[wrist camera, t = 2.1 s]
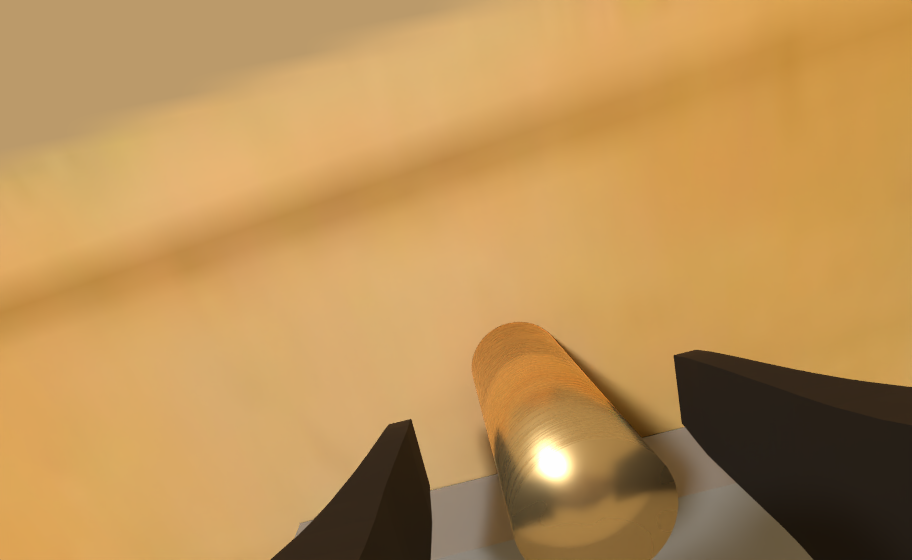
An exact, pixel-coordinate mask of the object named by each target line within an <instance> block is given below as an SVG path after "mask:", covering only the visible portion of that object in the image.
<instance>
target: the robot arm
mask: <svg viewBox="0 0 912 560" xmlns="http://www.w3.org/2000/svg"><path fill="white" fill-rule="evenodd" d="M674 362H675V371H676V379H677V387H678V395H679V403H680V411H681V420H682V424H683V425H684V426H685V428H686V429H687V430H688V431H689V433H690V434H691V435H692V437H693V438H694V439H695V440H696V442H697V443H698V444H699V445H700V446H701V448H702V449H703V450H704V451H705V452H706V454H707V455H708V456H709V457H710V458H711V459H712V460H713V461H714V462H715V463H716V464H717V465H718V466H719V467H720V468H721V469H723V470H724V471H725V472H726V473H727V474H728V475H729V476H730V477H731V478H732V479H733V480H734V481H735V482H736V483H737V484H738V485H739V486H740V487H741V488H742V489H743V490H744V491H745V492H747V493H748V494H749V495H750V496H751V497H752V498H753V499H754V500H755V501H756V502H757V503H758V504H759V505H760V506H761V507H762V508H763V509H764V510H765V511H766V512H768V513H769V514H770V515H771V516H772V517H773V518H774V519H775V520H776V521H777V522H778V523H779V524H780V525H781V526H782V527H783V528H784V529H785V530H786V531H787V532H788V533H789V534H790V535H791V536H792V537H793V538H794V539H795V540H796V541H797V542H798V543H799V544H800V545H801V546H802V547H803V548H804V550H805V551H806V552H807V553H808V554H809V555H810V556H811V558H812V559H813V560H912V387H905V386H897V385H889V384H881V383H873V382H865V381H858V380H851V379H845V378H839V377H833V376H827V375H822V374H816V373H811V372H805V371H800V370H795V369H790V368H786V367H781V366H776V365H771V364H767V363H762V362H758V361H753V360H748V359H744V358H739V357H735V356H730V355H725V354H720V353H715V352H709V351H701V350H694V351H689V352H685V353H681V354H677V355H674ZM431 544H432V510H431V496H430V485H429V481H428V478H427V474H426V470H425V467H424V463H423V460H422V456H421V452H420V449H419V445H418V442H417V438H416V434H415V431H414V427H413V424H412V420H411V419H410V420H406V421H401V422H397V423H393V424H389V425H388V426H387V428H386V429H385V430H384V432H383V433H382V435H381V436H380V437H379V439H378V440H377V442H376V443H375V445H374V446H373V447H372V449H371V450H370V452H369V453H368V454H367V456H366V457H365V458H364V460H363V461H362V463H361V464H360V465H359V467H358V468H357V469H356V471H355V472H354V473H353V474H352V476H351V477H350V478H349V479H348V481H347V482H346V483H345V484H344V486H343V487H342V488H341V489H340V490H339V492H338V493H337V494H336V495H335V497H334V498H333V499H332V500H331V501H330V502H329V504H328V505H327V506H326V507H325V508H324V509H323V510H322V511H321V512H320V513H319V514H318V516H317V517H316V518H315V519H314V520H313V521H312V522H311V523H310V524H309V525H308V526H307V527H306V528H305V529H304V530H303V531H302V532H301V533H300V534H299V535H298V536H297V537H296V538H294V539H293V540H292V541H291V542H290V543H289V544H288V545H287V546H285V547H284V548H283V549H282V550H281V551H280V552H279V553H278V554H276V555H275V556H274V557H273V558H272V559H271V560H431Z"/></svg>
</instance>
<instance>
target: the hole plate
mask: <svg viewBox="0 0 912 560" xmlns="http://www.w3.org/2000/svg"><path fill="white" fill-rule="evenodd" d="M642 439H643V440H644V441H645V442H646V443H647V445H648V446H649V447H650V448H651V449H652V450H653V451H654V453H655V454H656V455H657V456H658V457H659V458H660V459H661V460H662V462H663V463H664V464H665V465H666V467H667V468H668V469H669V471H670V473H671V475H672V476H673V479H674V482H675V484H676V488H677V493H678V514H677V518H676V522H675V525H674V528H673V530H672V533H671V535H670V537H669V538H668V540H667V542H666V543H665V545H664V546H663V548H662V549H661V550H660V551H659V553H658V554H657V555H656V556H655V557H654V558H653V559H652V560H813V559H812V558H811V556H810V555H809V554H808V553H807V552H806V551H805V550H804V548H803V547H802V546H801V545H800V544H799V543H798V542H797V541H796V540H795V539H794V538H793V537H792V536H791V535H790V534H789V533H788V532H787V531H786V530H785V529H784V528H783V527H782V526H781V525H780V524H779V523H778V522H777V521H776V520H775V519H774V518H773V517H772V516H771V515H770V514H769V513H768V512H766V511H765V510H764V509H763V508H762V507H761V506H760V505H759V504H758V503H757V502H756V501H755V500H754V499H753V498H752V497H751V496H750V495H749V494H748V493H747V492H745V491H744V490H743V489H742V488H741V487H740V486H739V485H738V484H737V483H736V482H735V481H734V480H733V479H732V478H731V477H730V476H729V475H728V474H727V473H726V472H725V471H724V470H723V469H721V468H720V467H719V466H718V465H717V464H716V463H715V462H714V461H713V460H712V459H711V458H710V457H709V456H708V455H707V454H706V452H705V451H704V450H703V449H702V448H701V446H700V445H699V444H698V443H697V442H696V440H695V439H694V438H693V437H692V435H691V434H690V433H689V431H688V430H687V429H686V428H685V427H684V428H680V429H676V430H672V431H668V432H664V433H660V434H656V435H652V436H648V437H644V438H642ZM430 496H431V510H432V544H431V560H525V559H524V557H523V556H522V555H521V553H520V551H519V549H518V547H517V545H516V542H515V539H514V536H513V532H512V528H511V524H510V520H509V516H508V512H507V508H506V504H505V500H504V496H503V493H502V489H501V485H500V481H499V477H498V474H495V475H491V476H487V477H483V478H479V479H475V480H471V481H467V482H463V483H459V484H455V485H451V486H447V487H443V488H439V489H435V490H431V491H430ZM312 521H313V520H311V521H307V522H303V523H300V525H299V528H298V531H297V533H296V536H295V538H296V537H297V536H298V535H299V534H300V533H301V532H302V531H303V530H304V529H305V528H306V527H307V526H308V525H309V524H310V523H311V522H312Z"/></svg>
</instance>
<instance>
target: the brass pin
mask: <svg viewBox="0 0 912 560" xmlns="http://www.w3.org/2000/svg"><path fill="white" fill-rule="evenodd" d="M472 374H473V379H474V383H475V387H476V390H477V394H478V398H479V402H480V406H481V410H482V414H483V418H484V422H485V426H486V430H487V434H488V438H489V442H490V445H491V449H492V453H493V457H494V461H495V465H496V469H497V473H498V477H499V481H500V485H501V489H502V493H503V496H504V500H505V504H506V508H507V512H508V516H509V520H510V524H511V528H512V532H513V536H514V539H515V542H516V545H517V547H518V549H519V551H520V553H521V555H522V556H523V557H524V559H525V560H652V559H653V558H654V557H655V556H656V555H657V554H658V553H659V551H660V550H661V549H662V548H663V546H664V545H665V543H666V542H667V540H668V538H669V537H670V535H671V533H672V530H673V528H674V525H675V522H676V518H677V514H678V493H677V488H676V484H675V482H674V479H673V476H672V475H671V473H670V471H669V469H668V468H667V467H666V465H665V464H664V463H663V462H662V460H661V459H660V458H659V457H658V456H657V455H656V454H655V453H654V451H653V450H652V449H651V448H650V447H649V446H648V445H647V443H646V442H645V441H644V440H643V439H642V438H641V437H640V435H639V434H638V433H637V432H636V431H635V430H634V429H633V428H632V426H631V425H630V424H629V423H628V422H627V421H626V420H625V418H624V417H623V416H622V415H621V414H620V413H619V412H618V411H617V409H616V408H615V407H614V406H613V405H612V404H611V403H610V401H609V400H608V399H607V398H606V397H605V396H604V395H603V394H602V392H601V391H600V390H599V389H598V388H597V387H596V386H595V384H594V383H593V382H592V381H591V380H590V379H589V378H588V377H587V375H586V374H585V373H584V372H583V371H582V370H581V369H580V367H579V366H578V365H577V364H576V363H575V362H574V361H573V359H572V358H571V357H570V356H569V355H568V354H567V353H566V352H565V350H564V349H563V348H562V347H561V346H560V345H559V344H558V342H557V341H556V340H555V339H554V338H553V337H552V336H551V335H550V334H549V333H548V332H547V331H546V330H544V329H543V328H541V327H539V326H537V325H534V324H531V323H525V322H514V323H508V324H505V325H502V326H500V327H497V328H496V329H494V330H492V331H491V332H490V333H488V334H487V335H486V336H485V337H484V338H483V339H482V341H481V342H480V343H479V345H478V347H477V348H476V351H475V353H474V356H473V360H472Z"/></svg>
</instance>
